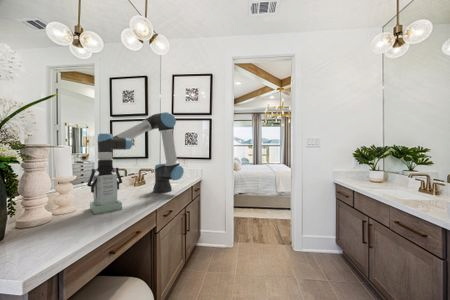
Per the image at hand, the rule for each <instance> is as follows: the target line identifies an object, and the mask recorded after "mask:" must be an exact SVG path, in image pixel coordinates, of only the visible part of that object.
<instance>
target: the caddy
mask: <svg viewBox="0 0 450 300" xmlns="http://www.w3.org/2000/svg"><path fill="white" fill-rule="evenodd" d="M89 208H90V209H89V210H90V211H91V212H92V214H93V215H98V214H99V215H100V214H104V213H109V212H114V211H120V210H123V202H122V201H120V200H119V199H118V198H117V202H116V203H112V204H107V205H102V206H101V205H97V204H94V200H92V201H90V202H89Z"/></svg>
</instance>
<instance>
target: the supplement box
mask: <svg viewBox="0 0 450 300" xmlns="http://www.w3.org/2000/svg"><path fill="white" fill-rule="evenodd" d="M112 174H113V173H112ZM96 178H97V183H96V184H95V187H96V198H95V199H94V198H93V201H94V204H97V205H101V206H102V205H107V204H112V203H116V202H117V199H118V190H117V181H118V177H117V175H116V173H115V174H113V175H110V174H109V175H102V176H98V174H94V177H93V179H92V183H93V182H94V180H95V179H96Z"/></svg>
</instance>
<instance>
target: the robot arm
mask: <svg viewBox="0 0 450 300" xmlns="http://www.w3.org/2000/svg"><path fill="white" fill-rule="evenodd" d="M176 122H177V120H176V117H175V115H174V114H172V113H171V112H161V113H155V114H152V115H150V116H148V117H145V118H144V119H143V120H142V122H140V123H137V124H136V125H133V126H132V127H129V128H128V129H126V130H124V131H122V132H119V133H118V134H115V135H114V136H113V134H112V133H99V134H98V135H97V168H92V169H91V173H90V176H89V178H88V182H87V187H90V192H91V194H92V193H93V194H92V196H93V200H94V199H95V198H96V187H95V184H96V183H97V178H96V179H95V180H94V182H93V177H94V176H95V175H96V173H97V172H98V174H97V175H98V176H102V175H109V174H110V175H113V173H112V172H113V171H114V172H115V175H117V191H118V190H120V185H121V184H123V180H122V177H121V175H120V171H119V167H114V166H113V165H114V163H113V150H116V151H117V150H118V151H120V150H123V151H126V150H131V149H132V146H133V141H132V140H133V139H135V138H137V137H138V136H141V135H142V134H144V133H146V132H151V131H153V130H156V129H158V132H159V133H160V134H161V140H162V146H163V150H164V151H163V152H164V158H165V163H160V164H159V163H158V164H156V165H155V166H154V184H153V188H152V193H158V194H160V193H161V192H163V193H168V192H167V191H169V192H171V191H170V190H173V189H172V185H171V183H170V182H171V180H172V181H178V180H179V181H180V179H182V177H183V175H184V168H183V167H182V165H180V161H178V160H177V159H178V157H177V153H176V146H175V139H174V133H173V131H174V130H175V128H174V127H175V126H176V124H177V123H176Z"/></svg>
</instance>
